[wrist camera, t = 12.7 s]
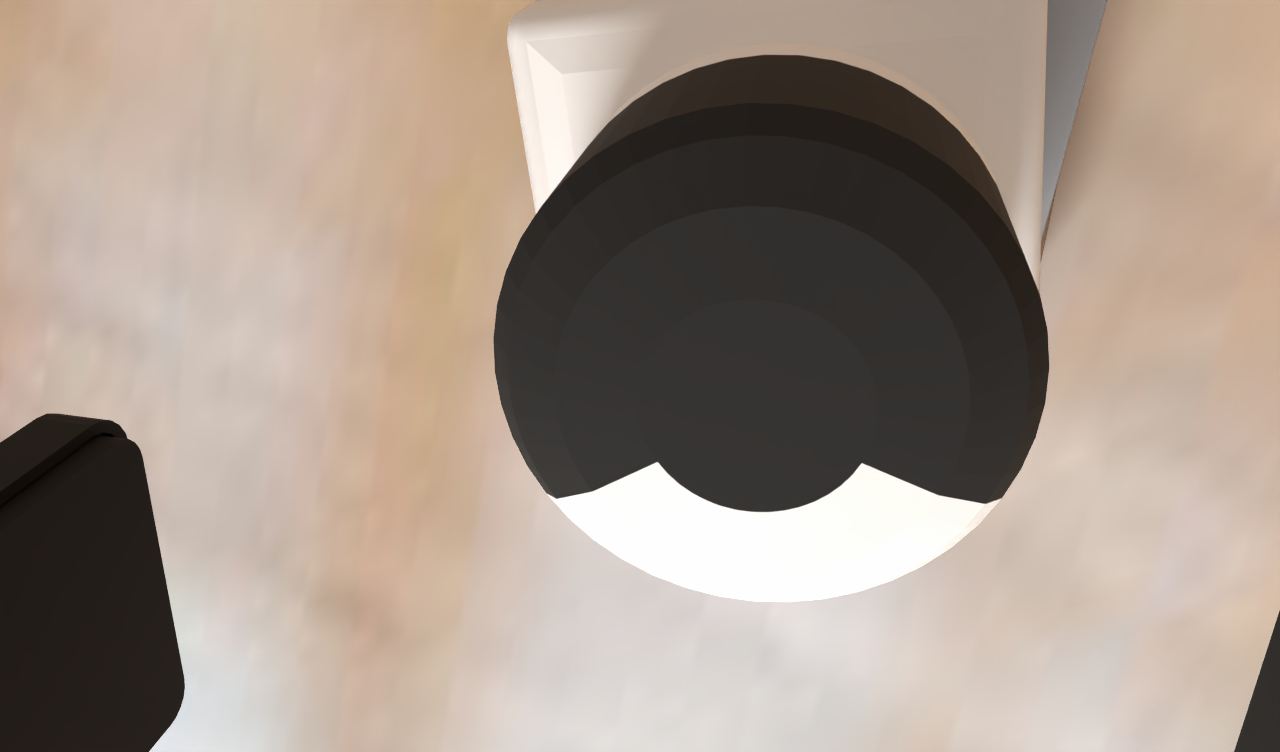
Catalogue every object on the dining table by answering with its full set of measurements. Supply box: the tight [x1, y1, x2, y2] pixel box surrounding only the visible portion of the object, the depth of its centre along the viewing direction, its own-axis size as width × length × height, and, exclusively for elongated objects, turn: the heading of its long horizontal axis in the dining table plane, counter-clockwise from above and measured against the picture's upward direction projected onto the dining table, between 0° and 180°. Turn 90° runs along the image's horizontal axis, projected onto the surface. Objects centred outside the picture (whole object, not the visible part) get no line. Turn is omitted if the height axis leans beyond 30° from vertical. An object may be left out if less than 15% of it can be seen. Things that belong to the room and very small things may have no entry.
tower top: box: [1041, 0, 1107, 239], centre depth 24 cm, size 10×10×4 cm
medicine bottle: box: [494, 0, 1049, 602], centre depth 17 cm, size 7×7×12 cm
